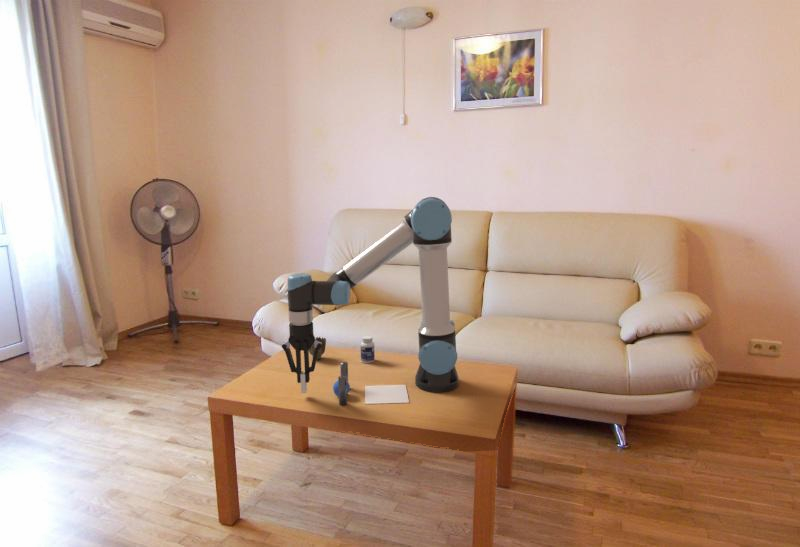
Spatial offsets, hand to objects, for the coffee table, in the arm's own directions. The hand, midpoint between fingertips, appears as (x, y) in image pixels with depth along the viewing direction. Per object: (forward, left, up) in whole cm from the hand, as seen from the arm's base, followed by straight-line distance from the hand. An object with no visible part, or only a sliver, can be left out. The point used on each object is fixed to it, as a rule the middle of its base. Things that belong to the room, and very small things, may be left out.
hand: (303, 391), depth 167 cm
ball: (-12, 0, +1) cm, 12 cm away
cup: (-1, -36, -2) cm, 36 cm away
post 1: (-13, -6, -2) cm, 15 cm away
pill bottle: (-21, -32, -2) cm, 38 cm away
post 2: (-13, +6, -2) cm, 15 cm away
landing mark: (-27, 0, -2) cm, 27 cm away
